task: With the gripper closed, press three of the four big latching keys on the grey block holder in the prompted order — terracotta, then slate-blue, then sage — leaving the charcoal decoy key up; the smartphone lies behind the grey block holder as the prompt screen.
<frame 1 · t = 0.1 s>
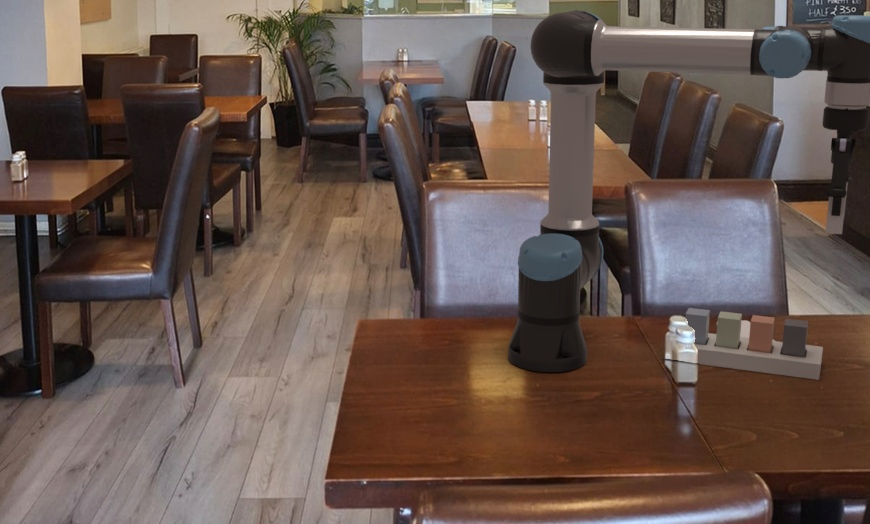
hand: (835, 225, 187), 28 cm above the table, fingers open, 13 cm apart
key charcoal: (794, 338, 194), point 6 cm above the table, slide at 0.0 cm
key sage: (728, 330, 199), point 6 cm above the table, slide at 0.0 cm
key slate: (696, 326, 201), point 6 cm above the table, slide at 0.0 cm
grey block holder: (742, 360, 199), on the table
key terracotta: (761, 334, 196), point 6 cm above the table, slide at 0.0 cm
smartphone: (746, 337, 214), on the table
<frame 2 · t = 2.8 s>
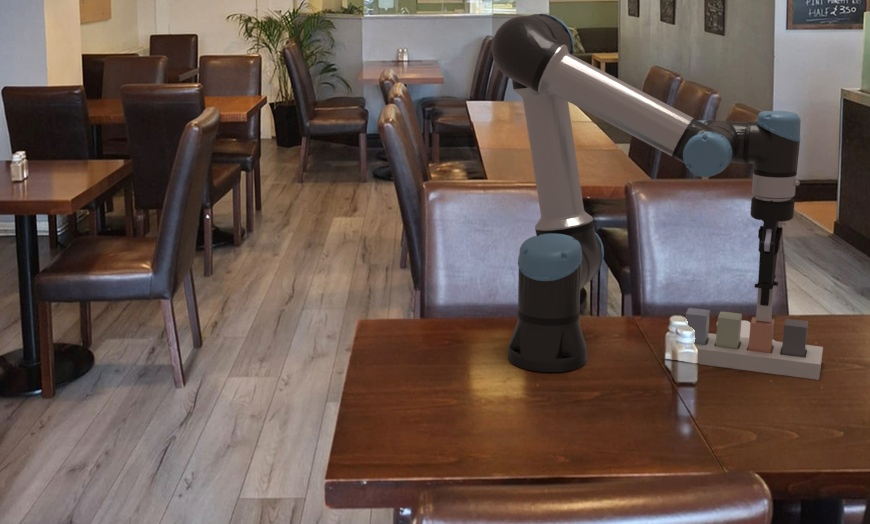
hand: (763, 320, 196), 9 cm above the table, fingers closed
key terracotta: (761, 336, 197), point 5 cm above the table, slide at 0.4 cm, touching gripper
everything else where it was.
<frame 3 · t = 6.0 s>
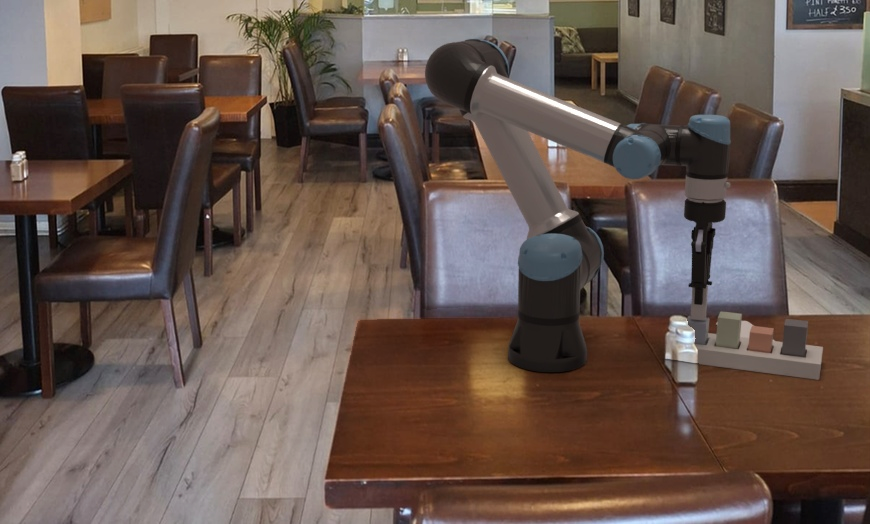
hand: (698, 318, 200), 7 cm above the table, fingers closed
key slate: (696, 334, 201), point 4 cm above the table, slide at 1.6 cm, touching gripper
key terracotta: (760, 345, 197), point 4 cm above the table, slide at 2.2 cm
everything else where it was.
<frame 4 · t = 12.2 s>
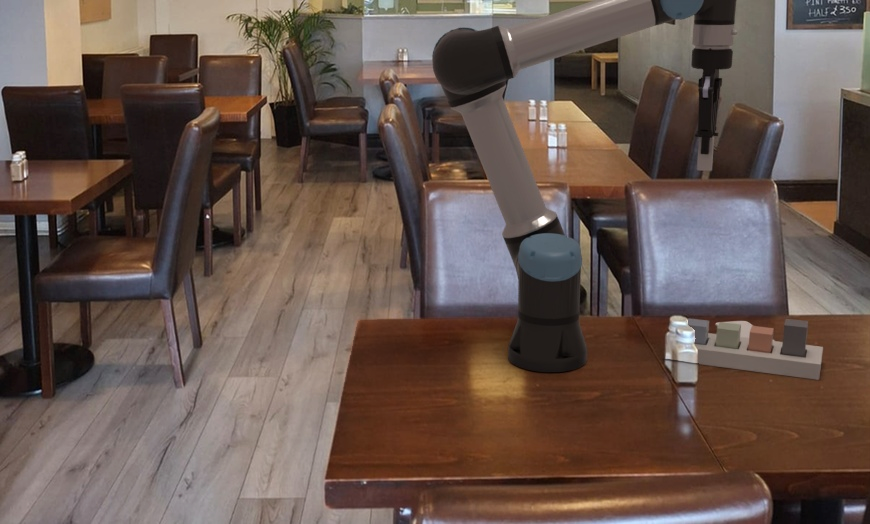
hand: (704, 169, 204), 34 cm above the table, fingers closed
key sage: (727, 341, 199), point 4 cm above the table, slide at 2.2 cm
key slate: (696, 337, 201), point 4 cm above the table, slide at 2.2 cm
everything else where it was.
at the end: key terracotta slide at 2.2 cm; key slate slide at 2.2 cm; key sage slide at 2.2 cm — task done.
